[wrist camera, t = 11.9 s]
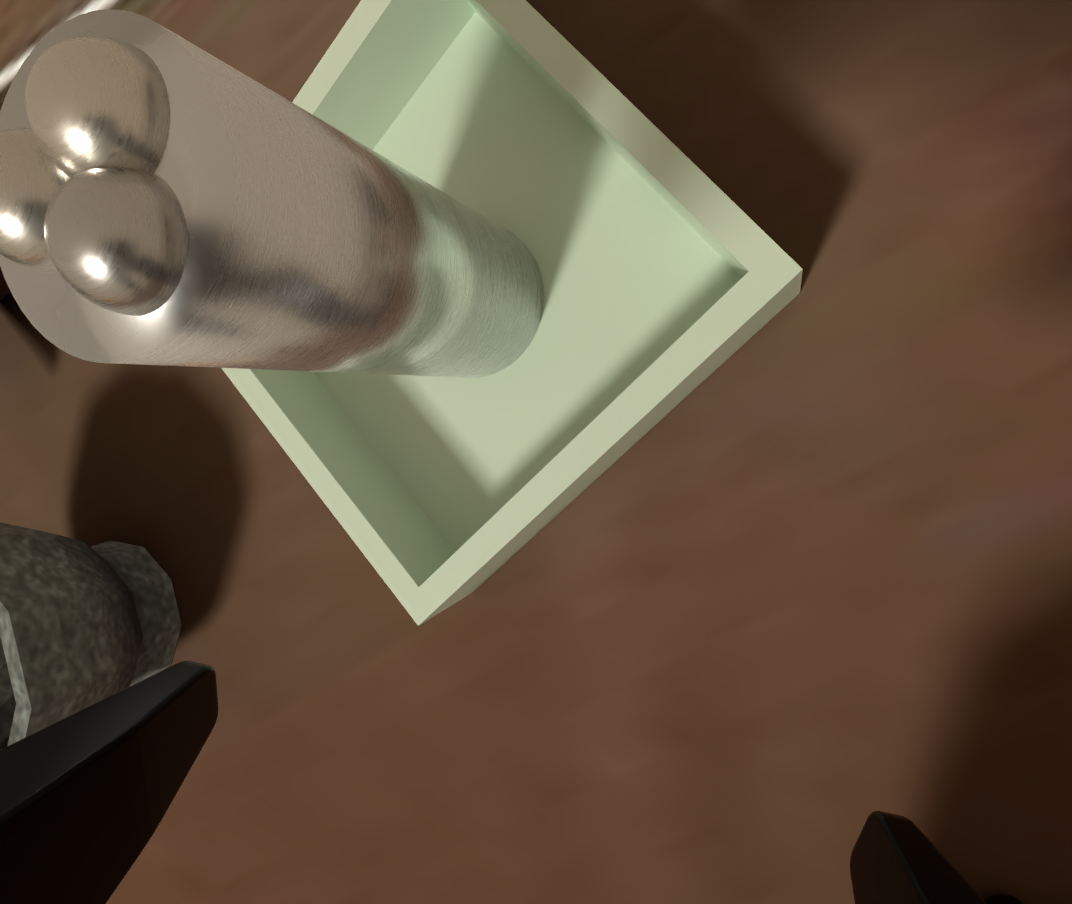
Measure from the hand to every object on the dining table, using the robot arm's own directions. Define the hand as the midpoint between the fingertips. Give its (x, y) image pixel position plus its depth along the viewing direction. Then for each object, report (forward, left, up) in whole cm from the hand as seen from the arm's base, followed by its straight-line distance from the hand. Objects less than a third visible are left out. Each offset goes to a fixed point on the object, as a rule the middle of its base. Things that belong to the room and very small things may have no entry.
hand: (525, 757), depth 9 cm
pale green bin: (+10, -1, -11) cm, 15 cm away
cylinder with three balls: (+10, -1, -11) cm, 15 cm away
